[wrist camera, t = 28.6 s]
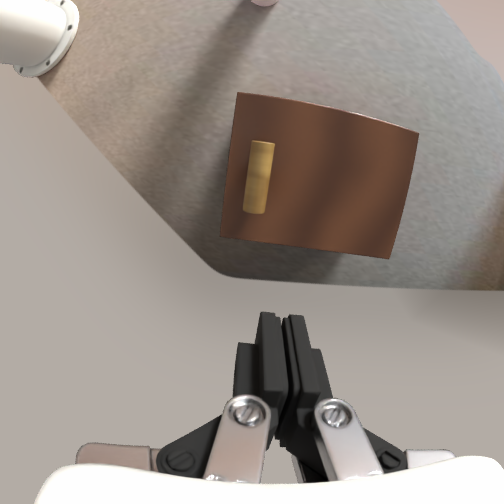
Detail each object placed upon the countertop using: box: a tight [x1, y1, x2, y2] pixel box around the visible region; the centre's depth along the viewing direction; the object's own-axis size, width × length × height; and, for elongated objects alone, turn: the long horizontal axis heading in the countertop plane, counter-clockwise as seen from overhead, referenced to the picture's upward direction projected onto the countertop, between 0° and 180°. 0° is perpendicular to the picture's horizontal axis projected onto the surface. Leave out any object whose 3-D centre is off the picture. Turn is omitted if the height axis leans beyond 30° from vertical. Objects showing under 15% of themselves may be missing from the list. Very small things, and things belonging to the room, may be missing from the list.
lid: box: [220, 92, 419, 259], centre depth 22 cm, size 16×13×5 cm
